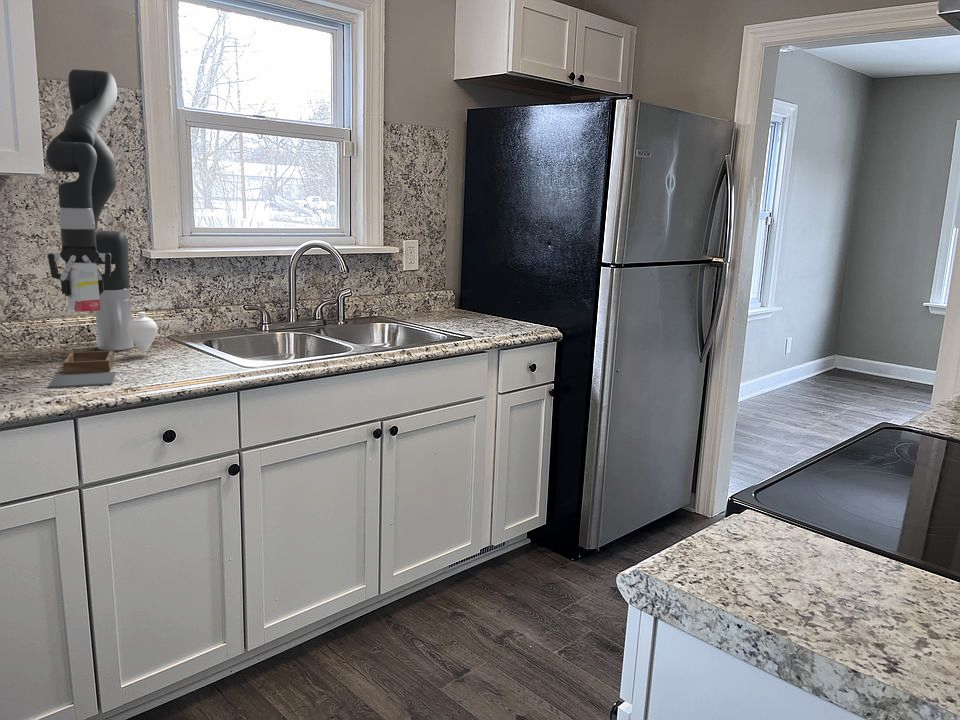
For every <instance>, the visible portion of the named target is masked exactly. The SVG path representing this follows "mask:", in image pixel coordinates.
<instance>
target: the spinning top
mask: <svg viewBox="0 0 960 720" xmlns="http://www.w3.org/2000/svg"><path fill="white" fill-rule="evenodd" d="M137 315H138V316H137V317H135V318H132V321H131V322H130V323H129V325H128V328H127V330H128V334H129V336H130V338H131V339H132V341H133V344H135V346H137V348H138V349H139V350H140V351H141V352H143V355H144V356H145V355H146V351H147V350H148V349H149V348H150V347H151V345H152V344H153V342H154V340H155V339H156V336H157V335H158V330H159V329H158V325H157V323H156V322H155V321H154V320H153V318H150V317H148V316H147V317H146V311H139V312H137Z"/></svg>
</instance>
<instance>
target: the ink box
mask: <svg viewBox="0 0 960 720" xmlns="http://www.w3.org/2000/svg"><path fill="white" fill-rule="evenodd" d="M66 265H67V263H66V262H65V261H64V268H65V267H66ZM68 268H69V267H68ZM97 268H98V264H95V263H72V268H71V270H70V272H69V274H68V277H67V280H68V283H69V296H67V305H68V306H67V308H68V309H69V310H73V311H76V312H80V313H83V312H87V313H88V312H95V311H100V299H99V287H98V274H97Z"/></svg>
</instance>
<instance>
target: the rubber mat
mask: <svg viewBox="0 0 960 720" xmlns="http://www.w3.org/2000/svg"><path fill="white" fill-rule="evenodd" d="M116 374H117V373H116V371H110V372H104V373H83V374H64V373H63V374H56V375H55V376H54V378H53V379H52V380H51V381H50V383H49V384H48V386H47V389H58V388H60V387H61V388H73V387H74V388H75V387H76V388H77V387H78V386H79V387H95V386H111V385H112V384H113V382H114V379H115V376H116Z"/></svg>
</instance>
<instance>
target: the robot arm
mask: <svg viewBox="0 0 960 720" xmlns="http://www.w3.org/2000/svg"><path fill="white" fill-rule="evenodd" d="M67 80H68V92H69V93H68V94H69V98H70V104H71V111H72V113H71V114H70V116H69V117H68V118H67V120H66V123H65V126H64V128H63V130H62V131H61V132H60V133H59V134H58V135H56V136H55V137H54V138H52V140H51V141H50V142H49V144H48V146H47V149H46V152H45V157H46V161H47V164H48V166H49V167H50V168H51V169H52V170H53V171H55V172H60V173H78V177H77V179H76V180H74V181H67V182H63V183H60V184H59V185H58V191H57V192H58V200H59V201H58V203H59V227H60V239H61V241H60V242H61V251H60V252H55V253H54V252H49V253H48V254H47V259H48V264H49V271H50V275H51V278H53V279H57V280H59V281H60V287H61V293H62V294H64V296H65V297H68V296H69V283H68V280H67V277H68V274H69V272H70V270H71V268H72V263H95V264H97V265H104V273H101V271H100V270H99V268H98V267H97V274H98V287H99V299H100V311H94V312H95V321H96V322H95V323H96V335H97V346H98V347H97V349H98V350H99V351H113V352H114V351H124V350H130V349H133V348H134V347H135V346H134V344H135V343H134V342H133V341H132V339H131V338H130V336H129V334H128V330H127V328H128V325H129V323H130V322H131V321H132V320H133V318H132V317H133V315H132V303H131V302H132V301H131V292H130V291H131V289H130V287H131V286H130V271H129V269H130V268H129V241H128V238H127V235H126V234H125V232H123V231H117V230H116V231H115V230H98V224H99V218H100V215H101V213H102V211H103V208H104V207H105V205H106V204H107V202H108V200H109V199H110V198H111V196H112V194H113V192H114V191H115V189H116V187H117V183H118V181H117V178H118V177H117V167H116V157H115V156H114V154H113V152H112V150H111V149H110V148H109V146H108V144H106V142H105V141H104V139H102V138H101V136H100V134H99V133H98V132H99V129H100V127H101V126H102V124H103V123H104V122H105V120H106V119H107V118H108V116H109V114H111V113H110V112H111V111H112V110H113V108H114V107H115V105H116V102H117V99H118V86H117V82H116V79H115V77H114V75H113V74H112V73H110V72H109V71H103V70H93V69H92V70H90V69H89V70H88V69H76V68H75V69H71V71H70V72H69V73H68V79H67ZM60 258H61V259H62V260H63V261H64V263H65V262H66V263H67V265H66V267H65V266H64V268H63V271H62V272H61V273H59V270H58V265H57V263H58V262H59V260H60ZM112 265H114V269H112ZM68 267H69V268H68Z"/></svg>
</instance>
